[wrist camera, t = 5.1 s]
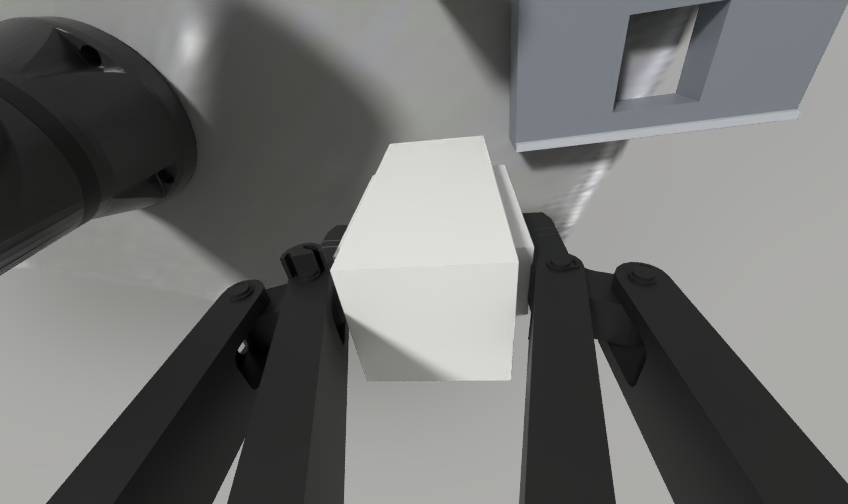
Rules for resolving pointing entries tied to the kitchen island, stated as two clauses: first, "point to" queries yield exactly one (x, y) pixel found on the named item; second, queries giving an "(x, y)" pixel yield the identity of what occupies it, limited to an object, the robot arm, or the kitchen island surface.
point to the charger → (431, 267)
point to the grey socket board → (699, 82)
